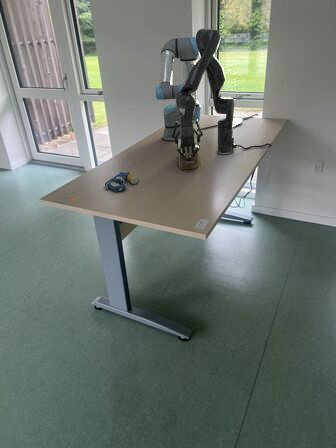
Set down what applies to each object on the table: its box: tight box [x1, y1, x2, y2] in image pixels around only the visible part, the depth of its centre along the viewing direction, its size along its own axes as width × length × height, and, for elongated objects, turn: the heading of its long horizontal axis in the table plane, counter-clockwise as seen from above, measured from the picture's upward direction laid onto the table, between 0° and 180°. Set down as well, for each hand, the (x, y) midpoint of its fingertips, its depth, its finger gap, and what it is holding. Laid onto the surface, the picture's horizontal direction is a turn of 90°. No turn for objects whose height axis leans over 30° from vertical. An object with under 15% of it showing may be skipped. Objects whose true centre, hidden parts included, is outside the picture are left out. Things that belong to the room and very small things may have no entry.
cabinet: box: [177, 137, 200, 168], centre depth 204 cm, size 18×12×11 cm, turn 178°
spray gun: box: [103, 170, 139, 193], centre depth 182 cm, size 21×4×15 cm
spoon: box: [233, 117, 243, 128], centre depth 261 cm, size 35×11×2 cm, turn 159°
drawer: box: [178, 150, 199, 170], centre depth 195 cm, size 23×10×9 cm, turn 179°
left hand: (187, 148), depth 207 cm, fingers closed on cabinet, 12 cm apart
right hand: (188, 163), depth 188 cm, fingers closed
